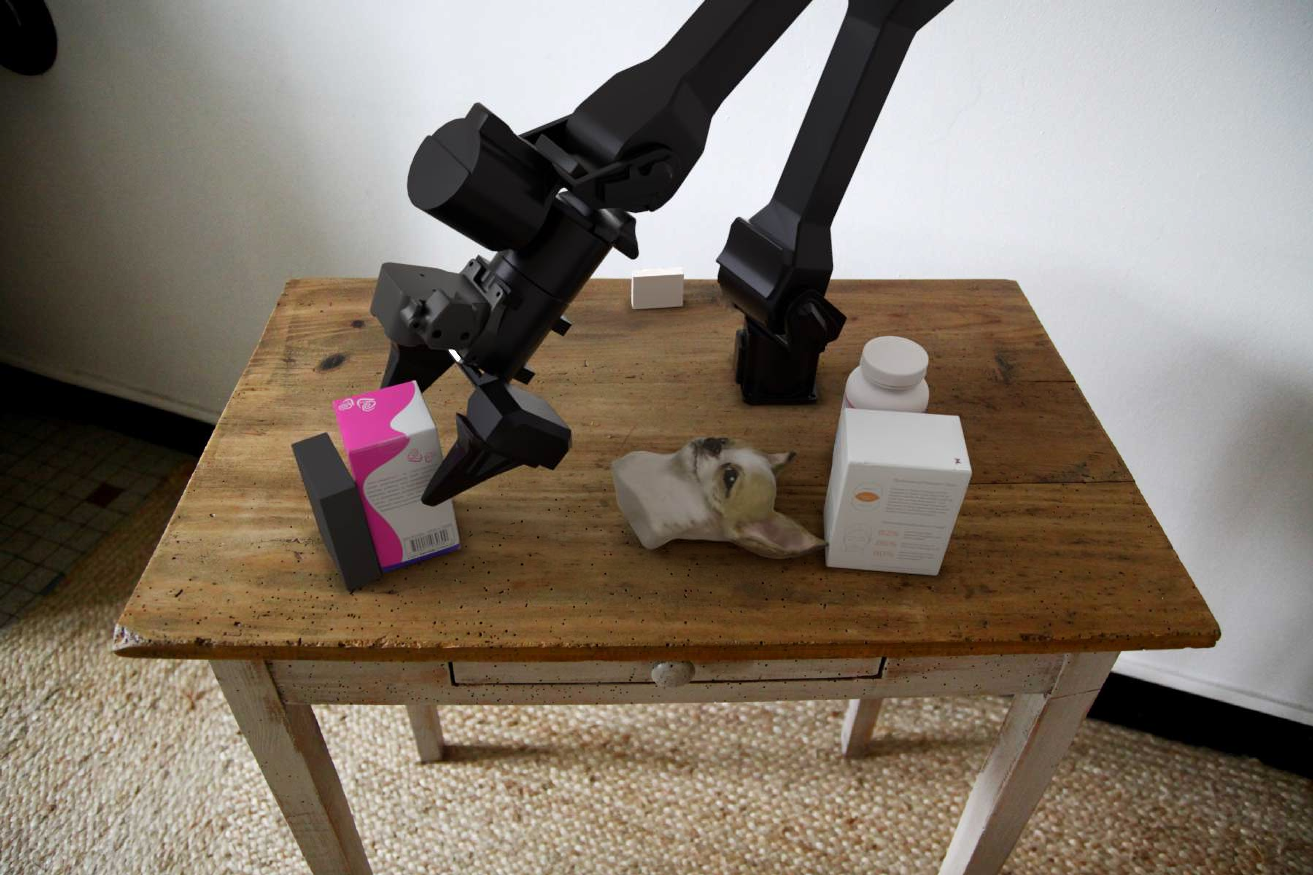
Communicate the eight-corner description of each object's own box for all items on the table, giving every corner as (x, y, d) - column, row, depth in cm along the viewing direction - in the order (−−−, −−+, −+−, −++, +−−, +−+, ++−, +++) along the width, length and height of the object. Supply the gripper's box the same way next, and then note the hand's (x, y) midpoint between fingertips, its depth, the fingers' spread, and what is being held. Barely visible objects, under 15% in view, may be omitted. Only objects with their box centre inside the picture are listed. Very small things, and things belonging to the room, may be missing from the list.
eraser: (682, 306, 90) (684, 273, 87) (633, 309, 89) (633, 277, 87) (680, 299, 91) (682, 266, 88) (631, 302, 90) (631, 270, 87)
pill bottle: (912, 452, 75) (944, 339, 67) (901, 503, 71) (934, 388, 63) (838, 434, 76) (861, 322, 69) (823, 483, 72) (846, 369, 64)
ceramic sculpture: (605, 393, 65) (809, 389, 68) (600, 480, 71) (787, 473, 74) (621, 502, 58) (850, 493, 60) (613, 589, 64) (823, 578, 66)
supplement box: (441, 495, 70) (418, 376, 62) (462, 550, 66) (440, 430, 58) (363, 517, 68) (330, 397, 60) (380, 575, 64) (347, 455, 56)
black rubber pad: (353, 522, 68) (326, 431, 62) (381, 577, 64) (356, 485, 58) (320, 535, 67) (290, 443, 61) (348, 592, 63) (318, 500, 57)
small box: (928, 520, 69) (963, 414, 62) (938, 578, 65) (976, 471, 58) (821, 511, 70) (843, 404, 63) (823, 568, 66) (847, 460, 59)
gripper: (383, 158, 59) (255, 350, 62) (510, 298, 48) (346, 525, 51) (505, 235, 68) (388, 400, 71) (639, 369, 56) (491, 560, 59)
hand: (400, 462), depth 63 cm, fingers open, 9 cm apart
